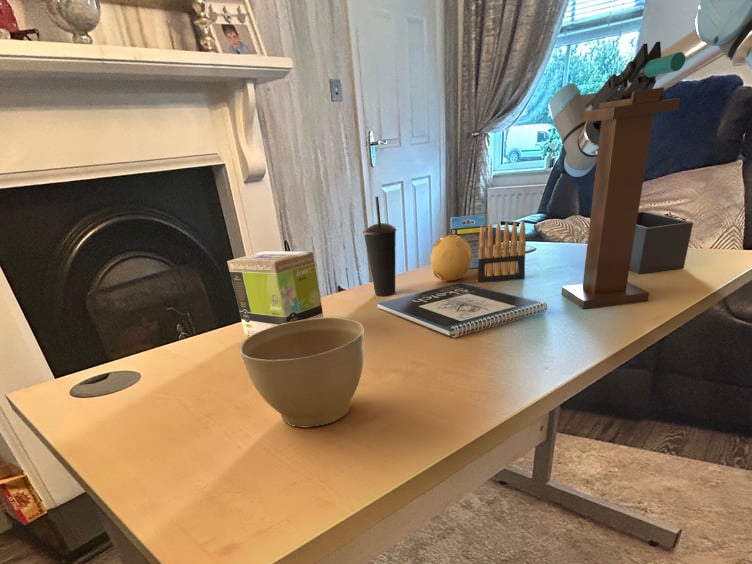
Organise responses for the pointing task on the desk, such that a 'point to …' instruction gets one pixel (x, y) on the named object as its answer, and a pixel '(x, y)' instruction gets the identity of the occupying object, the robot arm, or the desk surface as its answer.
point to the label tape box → (469, 233)
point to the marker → (663, 65)
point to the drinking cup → (382, 255)
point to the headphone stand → (617, 198)
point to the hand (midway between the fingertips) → (652, 50)
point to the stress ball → (451, 258)
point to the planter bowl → (307, 367)
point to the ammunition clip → (510, 263)
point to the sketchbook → (461, 308)
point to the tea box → (275, 288)
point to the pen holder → (659, 243)
